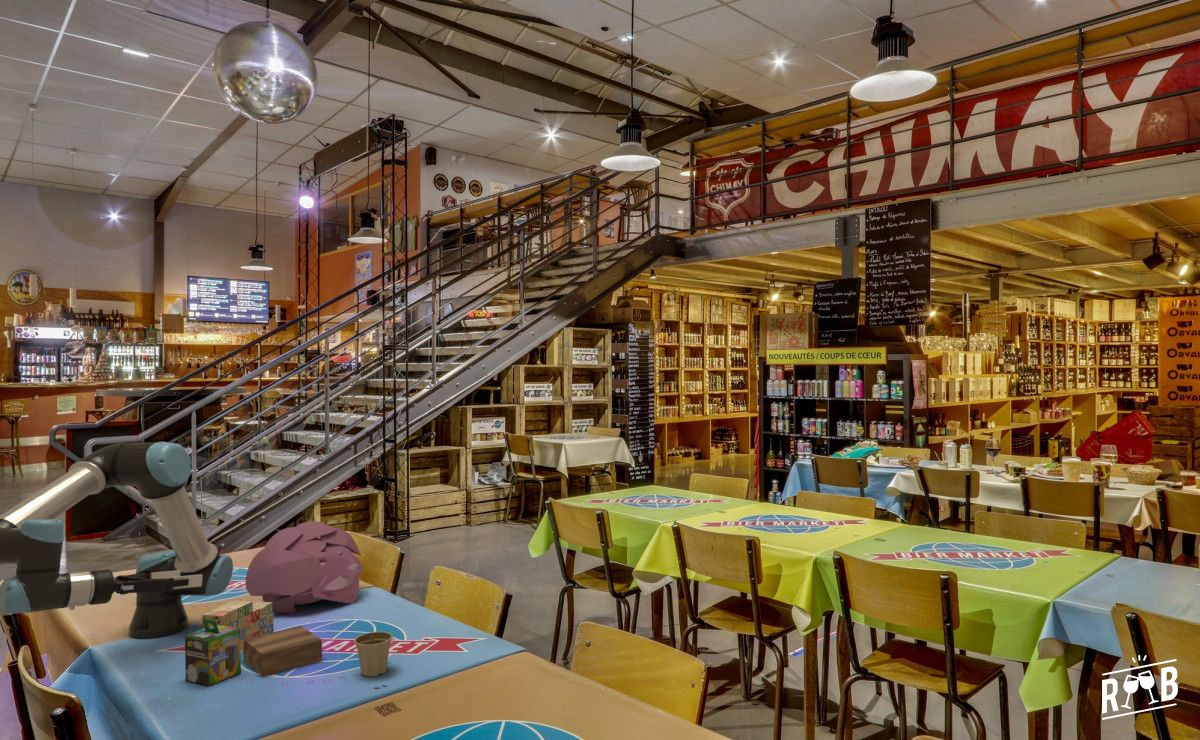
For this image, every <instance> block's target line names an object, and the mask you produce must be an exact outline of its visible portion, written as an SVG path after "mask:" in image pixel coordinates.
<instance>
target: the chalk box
mask: <svg viewBox="0 0 1200 740" xmlns="http://www.w3.org/2000/svg"><path fill="white" fill-rule="evenodd" d="M203 623H204V626H205V628H204V629H202V628H201V629H198V630H196V631H193V632H191V633H189V634H186V635H185V636H184V648H185V649H184V650H185V652H184V653H185V655H184V656H185V658H184V659H185V681H187V682H191V683H195V684H197V685H198V684H199V685H202V686H205V687H206V686H207V687H211V686H213V685H215V684H218V683H220V682H221V681H224V680H226V679H229V678H231V677H234V676H236V675H238V674H241V673H242V663H241V662H242V661H241V651H240V628H237V627H231V626H224V625H217V623H216V621H215V620H211V619H205V618H204V619H203ZM208 623H211V624H212V625H213V626H211V627H209V626H208Z"/></svg>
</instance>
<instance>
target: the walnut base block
mask: <svg viewBox="0 0 1200 740" xmlns="http://www.w3.org/2000/svg"><path fill="white" fill-rule="evenodd" d="M322 661H323V639H322V638H320V636H317V635H316V634H315V633H314V632H313V633H312V632H311V631H310V630H309V629H307V628H305V627H304V626H302V625H299V626H294V627H289V628H287V629H282V630H277V631H273V633H268V634H264V635H260V636H256V637H251V638H247V639H244V649H243V662H245V664H247V665H248V666H249V667H250V668H251V669H253V671H255V673H257V674H258V675H259V676H260V677H262V678H265V677H269V676H272V675H275V674H280V673H283V672H286V671H290V670H293V669H297V668H301V667H305V666H308V665H312V664H316V663H319V662H322ZM268 675H269V676H268Z"/></svg>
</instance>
